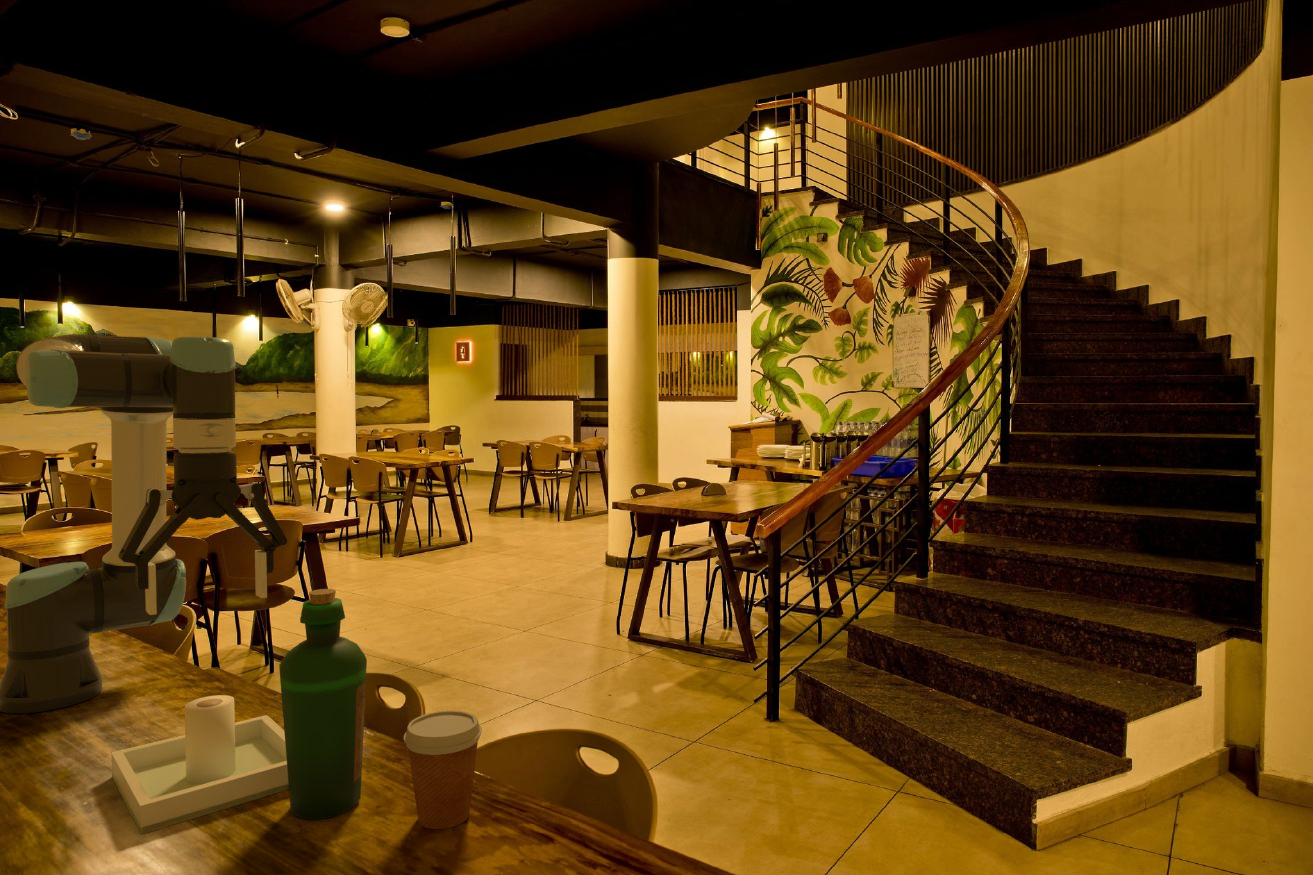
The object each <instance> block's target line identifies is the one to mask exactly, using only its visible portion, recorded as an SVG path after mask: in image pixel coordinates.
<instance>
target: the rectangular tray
mask: <svg viewBox="0 0 1313 875" xmlns="http://www.w3.org/2000/svg"><path fill="white" fill-rule="evenodd" d="M235 767H236V770H235V772H234V773H233V774H232V775H231V776H229V777H227V778H223V779H220V780H216V781H213V782H209V783H206V784H192V783H189V782H187V780H186V747H185V734H182V735H179V736H175V737H169V738H166V739H162V740H158V741H154V742H149V743H145V744H142V745H138V746H134V747H133V746H132V747H129V748H124V749H120V750H116V751H113V752H111V778H112V780H113V782H114V784H115V786H116V788H117V790H118V792H119V794H120V795H121V798H122V800H123V799H124V800H123V801H124V805H126V807H127V809H128V812H129V814H130V816H131V818H132V819H133V821H134V823H135V825H136V827H137V830H138V832H139V834H140V835H143V834H147V833H149V832H153V831H156V830H160V829H163V828H166V827H170V826H173V825H177V824H179V823H183V822H186V821H190V820H193V819H197V818H199V817H203V816H205V815H209V814H212V813H216V812H218V811H222V810H225V809H229V808H232V807H235V806H239V805H242V804H246V803H249V802H252V801H255V800H258V799H261V798H265V797H268V795H269V796H271V795H272V796H273V795H274V794H278V793H281V792H284V791H289V783H288V770H287V758H286V745H285V733H284V728H282V726H280V725H279V724H278V723H276V722H275V721H274V720H273V719H272V717H270V716H269V715H268V714H264V715H261V716H257V717H254V718H253V717H252V718H248V719H244V720H241V721H235Z"/></svg>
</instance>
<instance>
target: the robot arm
mask: <svg viewBox="0 0 1313 875" xmlns="http://www.w3.org/2000/svg"><path fill="white" fill-rule="evenodd" d="M235 359H236V358H235V349H234V344H233V342H232V341H231V340H229V339H227V338H224V337H223V338H222V337H216V336H215V337H212V336H211V337H210V336H178V337H175V338H174V339H173V340H172V341H171V340H169V339H165V338H164V339H163V338H157V337H149V336H124V335H123V336H121V335H120V336H119V335H118V336H117V335H97V334H96V335H94V334H93V335H92V334H84V333H83V334H79V333H77V334H74V333H72V334H71V333H70V334H62V335H56V336H50V337H46V338H42V339H39V340H36V341H34V342H32V343H31V344H28V345H27V346H25V347H24V348H23V349H22V350H21V351H20V353H19V355H18V356H17V360H16V363H15V364H16V365H15V368H16V374H17V376H18V379H19V381H20V382H21V384H23V385H24V387H25V388H26V394H27V399H28V401H29V404H31V405H34V406H35V407H45V408H46V407H50V408H54V409H55V408H56V409H64V408H65V409H66V408H100V412H101V413H103V414H104V415H105V417H107V418H108V419H110V424H111V427H110V428H111V430H110V431H111V432H110V434H111V452H110V453H111V548H110V550H108V551H107V552H106V553H105V554H104V555H103V556H102V558H101V567H99V568H98V567H97V568H89V565H88V564H87V562H84V561H72V562H61V563H56V564H49V565H45V566H41V567H36V568H34V569H30V570H27V571H24V572H21V573H19V574H17V575H15V576H14V577H12V578H11V579H10V580H9V581H8V582H7V584H6V592H5V603H4V608H5V609H6V633H7V634H6V638H7V639H6V645H7V647H6V648H7V649H6V650H7V661H6V665H5V668H4V671H3V673H2V676H1V679H0V712H2V713H7V714H29V713H30V714H31V713H41V712H47V711H51V710H57V709H62V708H66V707H69V706H74V705H76V704H79V703H83V702H85V701H88V700H90V699H93V698H94V697H96V696H98V695H99V694H101V692H102V691H103V676H102V674H101V671H100V669H99V667H98V665H97V663H96V661H95V658H94V655H93V654H92V652H91V648H90V646H91V645H90V635H92V634H96V633H104V632H110V631H116V630H118V631H119V630H123V629H124V630H125V629H129V628H137V627H143V626H152V625H155V624H159V623H161V624H162V623H166V622H170V621H172V620H174V619H175V618H176V617H177V616H178V615H179V614H180V612H181V610H182V607H183V605H184V601H185V596H186V590H187V589H186V588H187V578H186V576H187V575H186V573H187V572H186V571H187V569H186V565H185V563H184V561H183V560H182V559H178V558H176V551H175V550H174V549H172V548H171V547H170V546H168V545H167V543H168V541H169V540H170V539H171V538H172V537H173V535H174V534H175V533H176V532H177V531H178V529H179V528H180V527H181V526H182V525H184V524H185V523H186V522H187V521H188V519H193V520H195V521H196V520H199V521H200V520H204V519H207V518H210V519H211V518H212V519H221V518H222V517H224V516H225V515H226V516H227V517H228V518H229V519H231V521H233V522H234V523H235V524H236V526H238V527H239V528H240V529H241V530H242V531H243V532H244V533H245V534H246V535H247V536H248V537H250V538H251V540H252V541H254V542H255V543H256V544H257V545H258V546H259V548H261V549H256V550H254V573H255V574H254V575H255V576H254V577H255V578H254V579H255V584H254V585H255V596H256V597H258V598H260V599H267V598H268V583H267V582H268V580H267V578H268V576H267V574H271V573H273V572H274V569H275V568H274V562H275V561H274V559H275V557H274V552H275V551H276V549H277V548H279V547H281V546H285V545H286V544H287V543H288V538H287V536H286V535H285V533H284V531H283V529H282V528H281V526H280V525H279V523H278V521H277V519H276V518H275V516H274V514H273V512H272V510H271V508H270V507H269V506H268V504H267V502H266V500H265V498H264V491H263V485H262V484H261V483H258V482H254V481H251V482H249V483H248V484H243V485H239V483H238V472H237V471H238V470H237V468H238V466H237V464H238V461H237V453H235V452H236V451H233V450H232V449H233V448H235V447H236V446H237V431H236V429H237V428H236V368H237V362H236V360H235ZM171 417H172V432H173V433H172V434H173V435H172V438H173V439H172V440H173V444H172V445H173V446H172V447H173V448H174V449H176V450H178V452H176V453H175V454H174V455H173V486H172V488H171V490H170V489H168V490H167V423H168V422H167V421H168V420H169V419H170V418H171ZM241 494H243V496H244V498H245V499H248V500H250V503H251V504H252V505H251V506H253V508H254V510H255V512H256V513H257V515H258V517H259V519H260V520H261V522H262V523H263V525H264V527H265V529H266V531H267V532H268V534H269V536H270V537H271V538H268V537H266V535H265V534H264V533H263V532H262V531H261V530H260V529H259V528H258V527H257V526H256V525H255V524H254V523H253V522H252V521H251V520H249V519H248V517H246V516H245V515H244V513H243V512H242V511H241V510H240V509H239V508H238V507H237V506H236V505H235V503H236V501H237V500H238V499H239V498H240V496H241ZM169 499H171V500H172V502H173V503H174V504H175V505H176V506H177V508H176V509H175V510H174V511H173V512H172V513H171V514H170V515H169V518H168V519H167V500H169Z"/></svg>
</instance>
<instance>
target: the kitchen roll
mask: <svg viewBox="0 0 1313 875" xmlns="http://www.w3.org/2000/svg"><path fill="white" fill-rule="evenodd" d="M235 716H236V715H235V698H234V697H233V696H230V695H224V694H223V695H221V694H220V695H219V694H218V695H209V696H203V697H199V698H197V699H193V700H191V701H190V702H188V703H186V704H185V705H184V730H185V731H184V733H185V734H184V735H185V747H186V780H187V782H189V783H192V784H206V783H209V782H213V781H216V780H220V779H223V778H227V777H229V776H231V775H232V774H233V773H234V772H235V770H236V767H235V723H236V721H235V720H236V719H235V718H236V717H235Z"/></svg>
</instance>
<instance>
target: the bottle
mask: <svg viewBox="0 0 1313 875" xmlns="http://www.w3.org/2000/svg"><path fill="white" fill-rule="evenodd" d="M308 594H309V595H308V596H309V599H308V600H306V601H304V602H303V603H302V609H301V611H300V612H301V613H300V619H299V622H300V623H301V624H303V625H304V629H305V636H306V639H305V640H302V641H301V642H300V643H298V644H297V645H295V646H294V647H292V649H290V650H288V651H287V652H286V654H285V655H284V657H283V659H282V660H281V662H280V663H279V668H278V669H279V679H280V691H281V693H280V694H281V706H282V718H283V730H284V733H285V745H286V758H287V770H288V783H289V789H288V793H289V794H288V796H289V805H290V806H289V809H290V813H291V814H293V815H295V816H297V817H299V818H302V819H311V820H312V819H313V820H315V819H316V820H321V819H326V818H331V817H335V816H338V815H340V814H342V813H344V812H347V811H348V810H350V809H352V808H353V807H354V806H355V805H356V804H357V803H358V802H359V801H360V800H361V798H362V797H361V795H362V776H363V775H362V774H363V753H364V752H363V750H364V735H365V734H364V728H365V712H366V711H365V707H366V686H367V665H368V663H367V661H368V659H367V656H366V655H365V653H364V651H363V650H362V648H360V646H359V645H358V643H356V642H354V641H352V640H350V639H349V638H347V637H344V636H343V637H342V636H340V634H341V621H342V620H344V619H346V614H345V610H344V606H343V601H342V598H340V597H339V598H338V597H336V589H333V588H320V589H319V588H318V589H315V590H311V591H309V592H308Z"/></svg>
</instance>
